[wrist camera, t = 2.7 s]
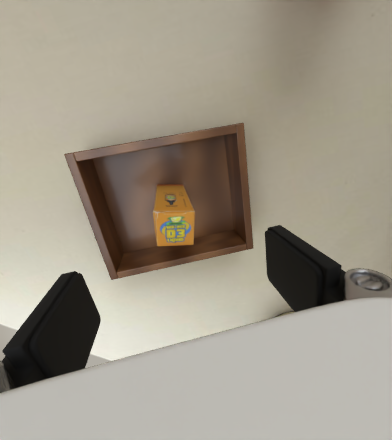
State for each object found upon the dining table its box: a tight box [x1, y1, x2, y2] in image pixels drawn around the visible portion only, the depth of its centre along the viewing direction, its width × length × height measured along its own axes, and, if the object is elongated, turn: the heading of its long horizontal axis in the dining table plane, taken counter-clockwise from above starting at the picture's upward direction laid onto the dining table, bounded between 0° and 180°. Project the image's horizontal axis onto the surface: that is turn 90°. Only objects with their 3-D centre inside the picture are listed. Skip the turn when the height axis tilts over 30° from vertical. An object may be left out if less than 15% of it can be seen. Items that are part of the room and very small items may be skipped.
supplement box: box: [153, 184, 195, 246], centre depth 21 cm, size 3×3×10 cm
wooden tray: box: [64, 123, 253, 280], centre depth 24 cm, size 17×14×5 cm
